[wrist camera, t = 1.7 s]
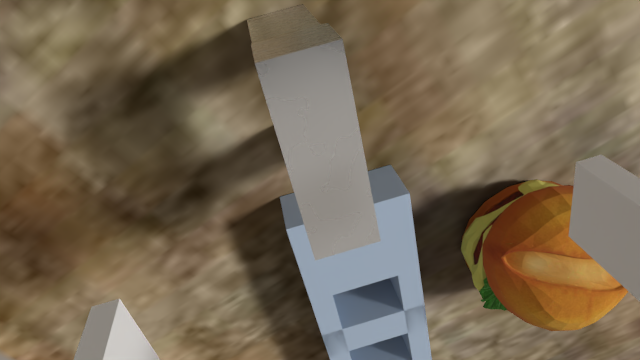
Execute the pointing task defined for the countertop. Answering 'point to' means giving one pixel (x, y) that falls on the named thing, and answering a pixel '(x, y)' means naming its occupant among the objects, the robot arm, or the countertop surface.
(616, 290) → the cheeseburger
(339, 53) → the clip
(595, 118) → the countertop surface
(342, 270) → the rail
